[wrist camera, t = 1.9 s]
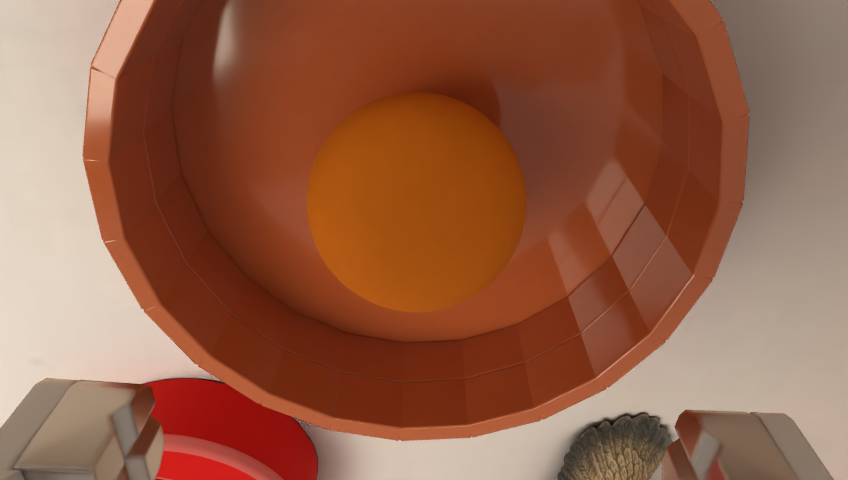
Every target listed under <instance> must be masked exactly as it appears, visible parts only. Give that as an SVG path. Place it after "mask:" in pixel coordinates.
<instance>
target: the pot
mask: <svg viewBox="0 0 848 480" xmlns="http://www.w3.org/2000/svg"><path fill="white" fill-rule="evenodd" d="M403 92H428V93H436V94H440V95H445V96H448V97H451V98H454V99H457V100H460V101H462V102H464V103H466V104H468V105H470V106H472V107H473V108H475V109H476V110H478V111H479V112H481V113H482V114H483V115H485V116H486V117H487V118H488V119H489V120H490V121H491V122H492V123H493V124H495V125H496V126H497V127H498V128H499V130H500V131H501V132H502V133H503V135H504V136H505V137H506V138H507V140H508V142H509V143H510V145H511V147H512V148H513V150H514V152H515V154H516V156H517V159H518V161H519V163H520V166H521V169H522V173H523V176H524V181H525V187H526V196H527V204H526V217H525V223H524V228H523V232H522V235H521V238H520V241H519V243H518V246H517V248H516V250H515V252H514V254H513V256H512V258H511V260H510V261H509V263H508V264H507V265H506V267H505V268H504V270H503V271H502V272H501V273H500V274H499V275H498V276H497V278H496V279H495V280H494V281H493V282H492V283H491V284H490V285H488V286H487V287H486V288H485V289H484V290H482V291H481V292H479V293H478V294H476V295H475V296H473V297H471V298H469V299H468V300H466V301H464V302H462V303H460V304H457V305H454V306H452V307H449V308H445V309H441V310H436V311H429V312H403V311H397V310H392V309H388V308H385V307H381V306H379V305H376V304H374V303H371V302H369V301H368V300H366V299H364V298H362V297H360V296H359V295H357V294H356V293H354V292H353V291H351V290H350V289H348V288H347V287H346V286H345V285H344V284H343V283H342V282H340V281H339V280H338V279H337V277H336V276H335V275H334V274H333V273H332V272H331V270H330V269H329V268H328V266H327V265H326V263H325V262H324V260H323V259H322V257H321V256H320V254H319V252H318V250H317V248H316V245H315V243H314V240H313V237H312V234H311V231H310V227H309V222H308V216H307V189H308V182H309V177H310V174H311V170H312V167H313V163H314V161H315V159H316V157H317V154H318V152H319V150H320V149H321V147H322V145H323V144H324V142H325V141H326V139H327V137H328V136H329V135H330V133H331V132H332V131H333V130H334V129H335V128H336V126H337V125H338V124H339V123H340V122H342V121H343V120H344V119H345V118H346V117H347V116H349V115H350V114H351V113H352V112H354V111H356V110H357V109H359V108H360V107H362V106H363V105H365V104H367V103H369V102H372V101H374V100H376V99H379V98H382V97H385V96H388V95H392V94H398V93H403ZM748 114H749V109H748V105H747V102H746V98H745V94H744V91H743V87H742V83H741V80H740V76H739V72H738V69H737V65H736V62H735V58H734V54H733V51H732V47H731V43H730V40H729V36H728V32H727V29H726V25H725V22H724V21H722V17H721V15H720V14H719V12H718V11H717V10H716V8H715V7H714V5H713V4H712V2H711V1H710V0H120V2H119V4H118V6H117V8H116V10H115V13H114V15H113V17H112V19H111V21H110V23H109V26H108V28H107V30H106V32H105V34H104V37H103V39H102V41H101V43H100V45H99V47H98V50H97V52H96V54H95V56H94V58H93V60H92V63H91V67H90V76H89V87H88V99H87V111H86V122H85V134H84V145H83V157H84V158H83V162H84V166H85V170H86V175H87V179H88V183H89V187H90V191H91V196H92V200H93V204H94V208H95V212H96V216H97V221H98V225H99V229H100V233H101V237H102V240H104V244H105V246H106V248H107V249H108V251H109V253H110V254H111V256H112V258H113V260H114V261H115V263H116V265H117V267H118V268H119V270H120V272H121V274H122V275H123V277H124V279H125V281H126V282H127V284H128V286H129V288H130V289H131V291H132V293H133V294H134V296H135V298H136V300H137V301H138V303H139V305H140V307H141V308H142V309H144V312H145V313H146V314H147V315H148V316H149V317H150V318H151V319H152V320H153V321H154V322H155V323H156V324H157V325H158V326H159V327H160V328H161V330H162V331H163V332H164V333H165V334H166V335H167V336H168V337H169V338H170V339H171V340H172V341H173V342H174V343H175V344H176V345H177V346H178V347H179V348H180V349H181V350H182V351H183V352H184V353H185V354H186V355H187V356H188V357H189V358H190V359H191V360H192V361H193V362H194V363H195V364H198V366H199V367H200V368H202V369H204V370H205V371H207V372H208V373H210V374H211V375H213V376H215V377H216V378H218V379H219V380H221V381H223V382H224V383H226V384H227V385H229V386H230V387H232V388H234V389H235V390H237V391H238V392H240V393H242V394H243V395H245V396H246V397H248V398H250V399H251V400H253V401H254V402H256V403H257V404H261V405H262V406H264V407H267V408H269V409H272V410H275V411H278V412H280V413H283V414H286V415H289V416H291V417H294V418H297V419H299V420H302V421H305V422H308V423H310V424H313V425H316V426H319V427H321V428H324V429H329V430H331V431H338V432H344V433H351V434H357V435H364V436H371V437H377V438H384V439H390V440H397V441H398V440H401V441H409V440H431V439H454V438H470V437H471V436H472V437H477V436H481V435H485V434H489V433H493V432H497V431H501V430H505V429H509V428H513V427H517V426H521V425H525V424H529V423H533V422H537V421H540V420H541V419H545V418H547V417H549V416H551V415H554V414H556V413H558V412H560V411H562V410H564V409H566V408H568V407H570V406H572V405H574V404H576V403H578V402H580V401H582V400H584V399H587V398H589V397H591V396H593V395H595V394H597V393H599V392H601V391H603V390H605V389H606V388H607V387H610V386H611V385H613V384H614V383H615V382H616V381H618V380H619V379H620V378H621V377H623V376H624V375H625V374H626V373H628V372H629V371H630V370H631V369H633V368H634V367H635V366H636V365H638V364H639V363H640V362H641V361H643V360H644V359H645V358H646V357H648V356H649V355H650V354H651V353H653V352H654V351H655V350H656V349H658V348H659V347H660V346H661V345H663V344H664V343H665V340H668V339H669V337H670V336H671V335H672V333H673V332H674V331H675V329H676V328H677V327H678V325H679V324H680V323H681V321H682V320H683V319H684V317H685V316H686V315H687V313H688V312H689V311H690V310H691V308H692V307H693V306H694V304H695V303H696V302H697V300H698V299H699V298H700V296H701V295H702V294H703V292H704V291H705V290H706V288H707V287H708V286H709V284H710V283H711V282H712V280H713V279H712V278H714V277H715V274H716V272H717V269H718V267H719V264H720V261H721V259H722V256H723V254H724V251H725V249H726V246H727V244H728V241H729V238H730V236H731V233H732V231H733V228H734V226H735V223H736V221H737V218H738V215H739V213H740V210H741V208H742V205H743V202H742V201H743V200H744V190H745V174H746V159H747V144H748V128H749V115H748Z"/></svg>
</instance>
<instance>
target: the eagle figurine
mask: <svg viewBox="0 0 848 480" xmlns="http://www.w3.org/2000/svg"><path fill="white" fill-rule="evenodd" d="M659 426H660V421H659V419H658V418H656V417H652V418H649V416H648V415H647V414H640V415H638V416H636V417H634V418H632V419H631V418H630V416H624V417H621V418H619V419H618V420H616V421H615V423H614V424H613V425H612V426H611V425H610V424H609V422H608V421H604V422H602V423H601V425H600V426H599V427H598V428H597V429H596V428H594V427H593V428H590V429H587V431H586V432H585V433H583V434H582V435H581V436H580V437H579V440H578V441H576V442H574V443H573V444H572V446H571V448H570V452H568V453H566V455H565V457H564V466H563V467H562V468H561V471H560V472H559V473H558V480H649V479H650V478H651V476H652V474H653V473H654V471H655V470H656V469H657V468H658V466H659V465H660V463H661V462H662V460H663V457H664V454H665V451H666V448H667V447H668V446H669V445H670V444H672V443H673V442H672V441H671V440H669V439H668V430H667V429H666V428H661V427H659Z"/></svg>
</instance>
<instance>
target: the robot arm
mask: <svg viewBox="0 0 848 480" xmlns="http://www.w3.org/2000/svg"><path fill="white" fill-rule="evenodd" d="M155 404H156V401H155V397H154V394H153V390H152V387H150V386H147V385H144V384H130V383H116V382H103V381H89V380H67V379H53V378H46V379H44V380H42V381H40V382H39V383H37V384H35V385H34V387H33V388H32V389H31V390H30V392H29V393H28V394H27V395H26V397H25V398H24V399H23V400H22V402H21V403H20V404H19V405H18V407H17V408H16V409H15V411H14V412H13V413H12V414H11V416H10V417H9V418H8V419H7V421H6V422H5V423H4V424H3V426H2V427H1V428H0V480H155V478H156V475H157V473H158V471H159V468H160V464H161V459H162V455H163V450H164V435H163V430H162V425H161V423H160V422H159V421H158V420H156V419H155V418H154V417H153V416H152V415H151V414H150V413H151V412H152V410H153V408H154V406H155ZM675 429H676V431H677V434H678V436H679V439H677V440H676V441H675V442H673V443H672V444H670V445H669V446H668V447H667V448H666V451H665V454H664V457H663V460H662V480H834V479H833V478H832V476H831V475H830V473H829V472H828V470H827V469H826V467H825V466H824V464H823V463H822V462H821V460H820V459H819V457H818V456H817V454H816V453H815V451H814V450H813V448H812V447H811V445H810V444H809V443H808V441H807V440H806V438H805V437H804V435H803V434H802V432H801V431H800V429H799V428H798V426H797V425H796V423H795V422H794V421H793V420H792V419H791V418H790V417H788V416H787V415H786V414H782V413H756V412H751V413H747V412H731V411H704V410H685V411H684V412H683V413H682V414H680V415H679V418H678V420H677V422H676V425H675Z"/></svg>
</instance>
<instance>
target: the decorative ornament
mask: <svg viewBox="0 0 848 480" xmlns="http://www.w3.org/2000/svg"><path fill="white" fill-rule="evenodd" d="M144 385H147V386H150V387H152V390H153V394H154V397H155V401H156V404H155V406H154V408H153V410H152V412H151V413H150V414H151V415H152V416H153V417H154V418H155V419H156V420H158V421H159V422H160V423H161V425H162V430H163V435H164V450H163V455H162V459H161V464H160V468H159V471H158V473H157V475H156V478H155V480H316V479H317V473H318V460H317V454H316V450H315V448H314V446H313V444H312V442H311V441H310V439H309V438H308V436H307V435H306V433H305V432H304V430H303V429H302V428H301V426H300V425H299V424H298V423H297V422H296V421H295V420H294V419H293V418H292V417H290V416H289V415H286V414H283V413H280V412H278V411H275V410H272V409H269V408H267V407H264V406H262V405H261V404H257V403H256V402H254V401H253V400H251V399H250V398H248V397H246V396H245V395H243V394H242V393H240V392H238V391H237V390H235V389H234V388H232V387H230V386H229V385H227V384H223V383H219V382H214V381H208V380H200V379H170V380H162V381H156V382H151V383H147V384H144Z"/></svg>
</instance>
